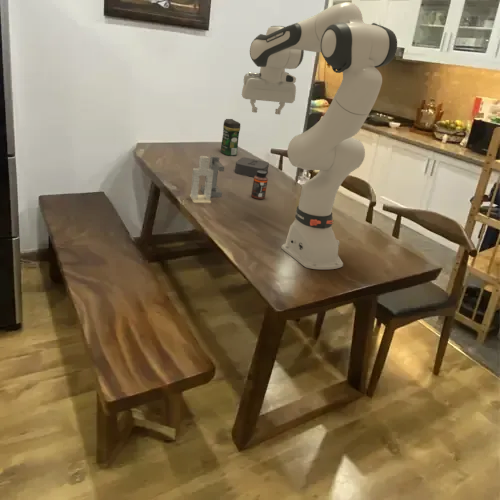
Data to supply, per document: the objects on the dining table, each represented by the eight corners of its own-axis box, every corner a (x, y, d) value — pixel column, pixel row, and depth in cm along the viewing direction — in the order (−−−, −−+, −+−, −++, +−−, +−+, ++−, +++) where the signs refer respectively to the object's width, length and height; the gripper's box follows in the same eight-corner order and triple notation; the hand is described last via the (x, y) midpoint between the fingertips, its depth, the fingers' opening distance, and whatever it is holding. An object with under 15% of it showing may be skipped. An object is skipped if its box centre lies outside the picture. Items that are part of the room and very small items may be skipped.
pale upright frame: (210, 199, 196) (214, 158, 189) (192, 199, 194) (196, 157, 186) (208, 197, 199) (212, 156, 191) (190, 196, 196) (194, 155, 189)
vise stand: (226, 203, 197) (231, 164, 190) (209, 202, 194) (213, 164, 188) (216, 190, 209) (220, 154, 203) (200, 190, 207) (204, 153, 200)
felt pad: (211, 203, 194) (211, 201, 194) (193, 203, 192) (194, 201, 192) (206, 196, 201) (206, 194, 201) (189, 196, 198) (189, 194, 198)
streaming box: (261, 179, 234) (263, 169, 232) (233, 173, 236) (234, 163, 234) (268, 172, 247) (270, 162, 244) (241, 166, 249) (242, 156, 247)
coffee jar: (218, 151, 270) (221, 117, 262) (230, 151, 274) (234, 117, 266) (226, 156, 263) (230, 121, 255) (239, 156, 267) (243, 122, 259)
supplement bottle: (263, 200, 206) (267, 174, 201) (249, 197, 207) (253, 172, 202) (266, 196, 211) (270, 171, 206) (252, 193, 212) (256, 168, 207)
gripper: (247, 72, 171) (242, 112, 177) (300, 78, 178) (293, 117, 184) (242, 70, 176) (237, 109, 182) (293, 76, 183) (287, 113, 189)
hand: (266, 113), depth 183 cm, fingers open, 8 cm apart
